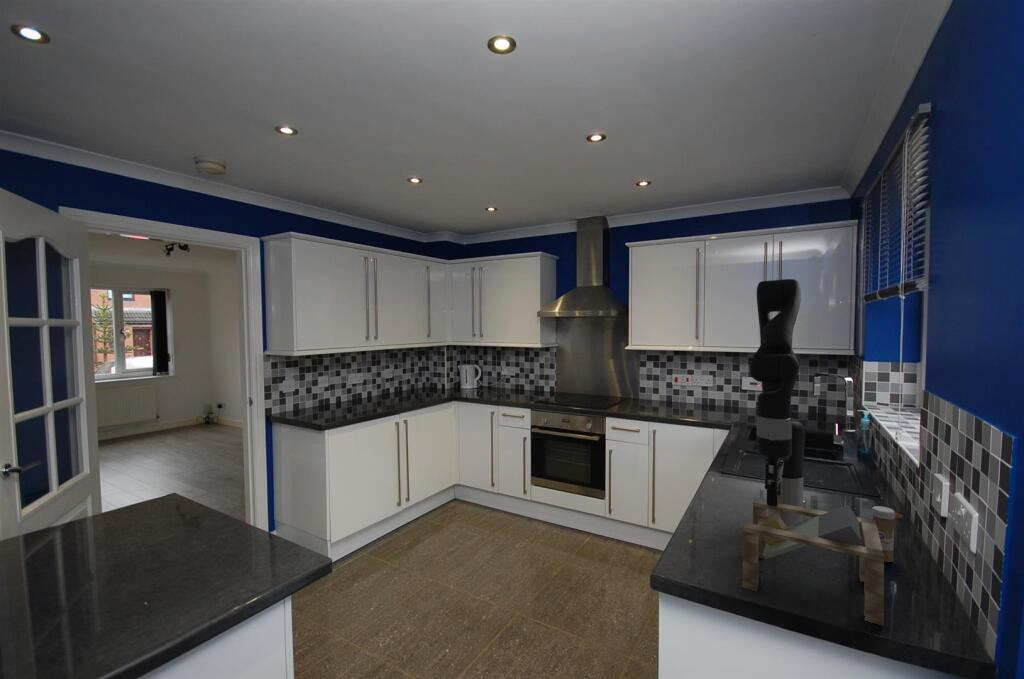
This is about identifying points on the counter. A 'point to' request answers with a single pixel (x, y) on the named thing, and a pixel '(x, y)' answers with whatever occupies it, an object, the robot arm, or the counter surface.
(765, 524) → the block
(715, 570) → the counter surface
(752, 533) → the trapdoor frame
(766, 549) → the trapdoor
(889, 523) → the sprinkles bottle
